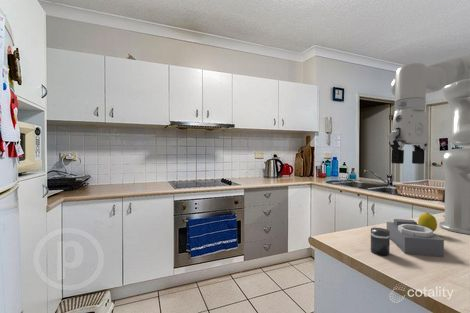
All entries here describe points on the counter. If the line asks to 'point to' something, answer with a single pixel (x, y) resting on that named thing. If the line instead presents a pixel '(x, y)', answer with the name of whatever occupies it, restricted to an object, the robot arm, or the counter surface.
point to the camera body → (415, 238)
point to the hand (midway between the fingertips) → (407, 163)
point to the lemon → (428, 221)
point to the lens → (380, 241)
